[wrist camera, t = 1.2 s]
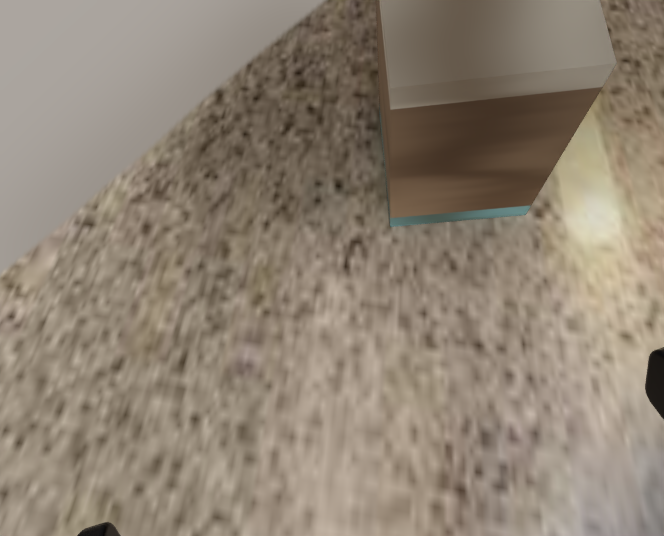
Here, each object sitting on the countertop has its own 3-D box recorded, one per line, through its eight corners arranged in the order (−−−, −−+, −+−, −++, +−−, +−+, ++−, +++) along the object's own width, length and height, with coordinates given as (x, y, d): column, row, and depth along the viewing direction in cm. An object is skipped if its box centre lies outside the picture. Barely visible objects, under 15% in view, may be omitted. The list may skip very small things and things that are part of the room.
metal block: (504, 100, 25) (572, -102, 16) (525, 214, 23) (616, 63, 14) (379, 113, 26) (373, -75, 16) (390, 226, 24) (390, 88, 14)
